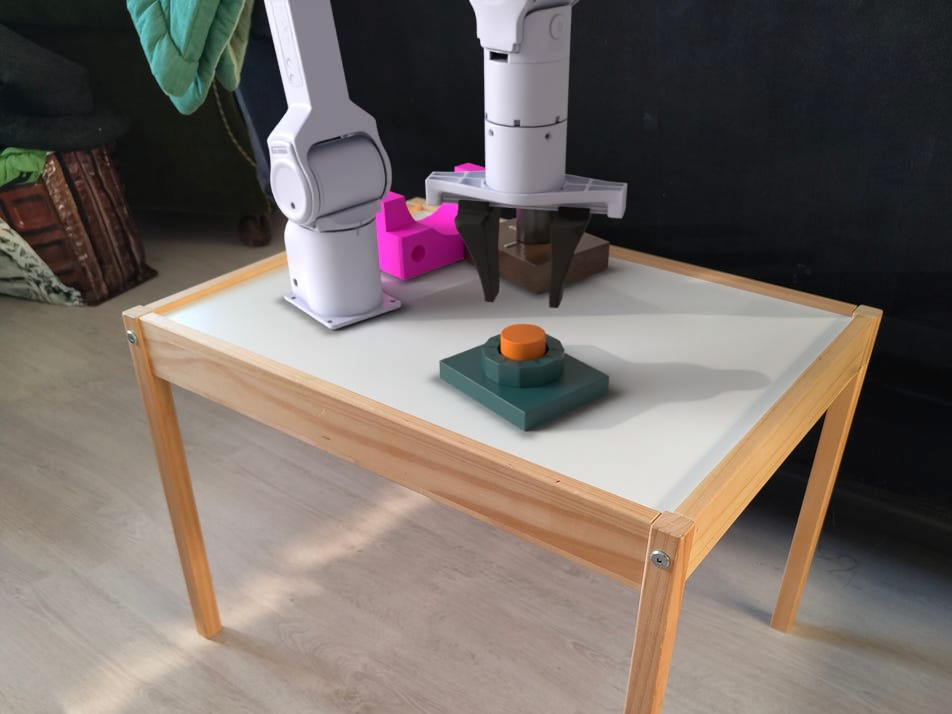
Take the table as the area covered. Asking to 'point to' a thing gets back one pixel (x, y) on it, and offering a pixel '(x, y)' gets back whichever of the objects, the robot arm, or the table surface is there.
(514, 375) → the button base
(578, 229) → the robot arm
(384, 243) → the toy block
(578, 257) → the dial panel
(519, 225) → the heat dial
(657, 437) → the table surface
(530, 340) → the button
